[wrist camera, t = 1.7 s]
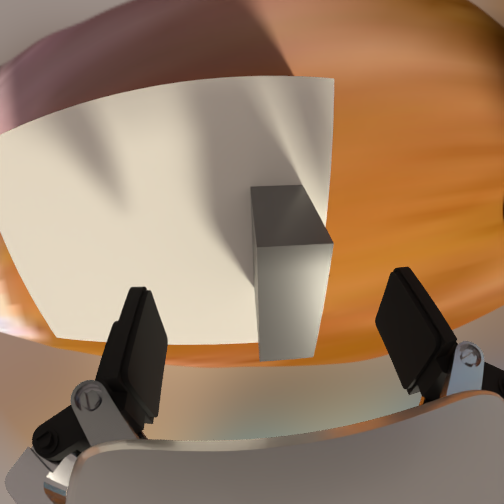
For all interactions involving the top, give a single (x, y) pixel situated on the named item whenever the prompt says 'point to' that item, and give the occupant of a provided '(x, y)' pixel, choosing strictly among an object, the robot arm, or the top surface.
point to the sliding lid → (178, 210)
